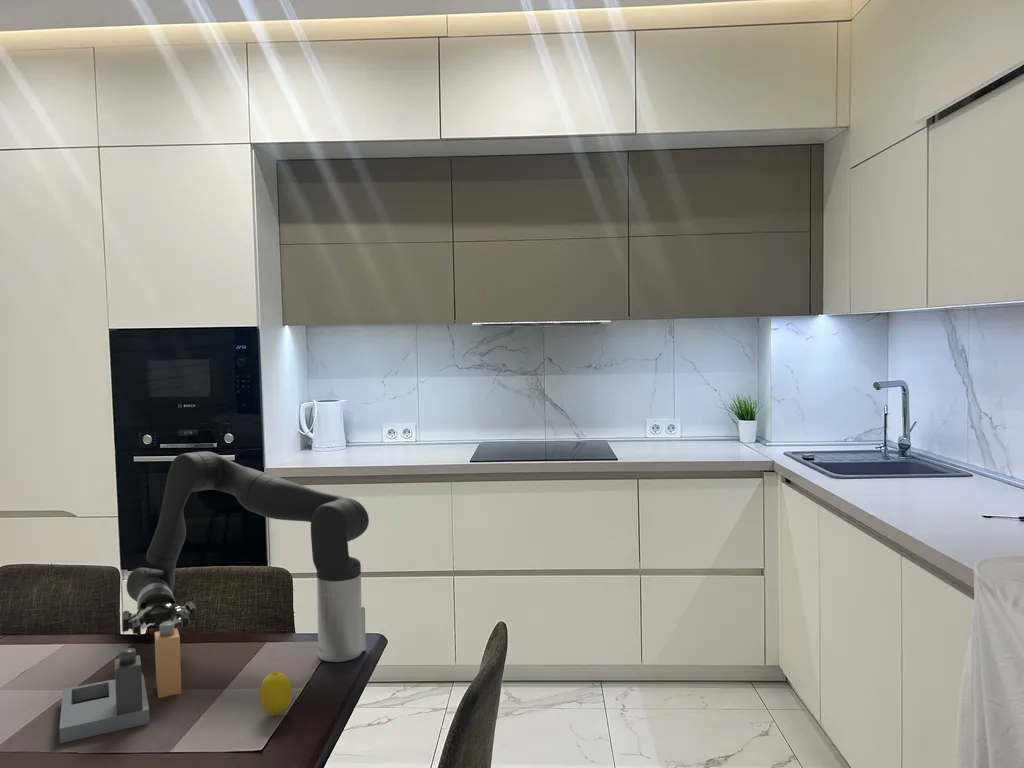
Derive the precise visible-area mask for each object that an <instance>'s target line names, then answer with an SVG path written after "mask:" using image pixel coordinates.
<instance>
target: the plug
mask: <svg viewBox="0 0 1024 768" xmlns="http://www.w3.org/2000/svg"><path fill="white" fill-rule="evenodd" d="M158 627H159V631H155V632H154V650H155V651H154V653H155V656H154V657H155V658H154V659H155V660H154V661H155V686H156V687H155V688H156V693H157V697H158V699H159V698H160V699H161V698H165V697H169V696H174V695H175V696H176V695H178V694H179V695H180V694H182V673H181V671H182V670H181V669H182V667H181V666H182V665H181V664H182V663H181V637H180V632H179V630H178V628H175V624H174V622H164V623H161V624H160V625H159V626H158Z"/></svg>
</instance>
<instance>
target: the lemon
mask: <svg viewBox="0 0 1024 768" xmlns="http://www.w3.org/2000/svg"><path fill="white" fill-rule="evenodd" d="M258 694H259V697H258V698H259V702H260V705H261V708H262V709H263V710H264V711H265V712H266V713H268V714H272V715H273V716H275V717H276V716H279V714H281V713H282V712H284V711H285V710H286V709H287V708H288V706H289V705H290V703H291V701H292V694H293V689H292V684H291V681H290V679H289V677H288V676H287V675H285V674H284V673H282V672H280V671H277V670H275V671H273V672H271V673H270V674H268V675H267V676H265V677H264V679H263V680H262V682H261V685H260V687H259V693H258Z"/></svg>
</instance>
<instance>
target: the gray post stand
mask: <svg viewBox="0 0 1024 768" xmlns="http://www.w3.org/2000/svg"><path fill="white" fill-rule="evenodd" d="M118 654H119V655H118V656H119V657H118V658H115V659H114V678H113V679H109V680H104V681H99V682H93V683H90V684H89V683H88V684H84V685H77V686H73V687H68V688H62V693H61V706H60V717H59V719H60V720H59V727H58V729H59V730H58V731H59V744H64V743H68V742H72V741H73V742H74V741H77V740H81V739H86V738H90V737H95V736H99V735H104V734H108V733H113V732H117V731H121V730H126V729H131V728H135V727H139V726H144V725H148V724H150V708H149V701H148V695H147V688H146V682H145V677H144V673H142V662H141V655H140V654H137V649H136V648H133V647H130V648H129V647H128V648H124V649H121V650H119V653H118ZM107 695H108V697H107ZM102 696H103V697H102ZM96 697H98V698H99V699H97V698H96ZM91 698H93V699H91ZM86 699H88V700H89V701H88V700H86ZM82 700H83V701H82ZM76 701H78V702H76ZM72 702H74V703H72ZM79 702H80V703H79Z"/></svg>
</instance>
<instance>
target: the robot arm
mask: <svg viewBox="0 0 1024 768" xmlns="http://www.w3.org/2000/svg"><path fill="white" fill-rule="evenodd" d="M208 490H210V491H211V490H212V491H214V490H215V491H221V492H223V493H227V494H230V495H232V496H234V497H235V498H236V500H237V501H238V503H239V504H240V505H241V506H242V507H243V508H244V509H245V510H247V511H250V512H252V513H253V514H257V515H260V516H263V517H265V518H268V519H274V520H278V521H279V520H280V521H291V522H292V521H294V522H295V521H296V522H308V523H310V540H311V554H312V561H313V565H314V568H315V570H316V590H317V593H316V596H317V598H316V599H317V602H316V603H317V604H316V605H317V645H318V646H317V649H318V650H317V651H318V654H317V655H318V658H319V659H320V660H321V661H325V662H329V663H341V662H347V661H351V660H354V659H356V658H359V657H360V656H361V655H362V653H363V652H364V651H366V650H367V646H366V645H367V643H366V642H367V641H366V640H367V638H366V608H365V606H362V566H361V565H362V564H361V562H360V560H359V559H358V558H356V557H353V556H350V555H349V542H351V541H354V540H355V539H357V538H359V537H361V535H363V534H364V533H365V532H366V531H367V529H368V526H369V524H370V523H369V522H370V519H369V513H368V511H367V510H366V509H365V507H364V505H362V504H361V503H360V502H359V501H358V500H355V499H353V498H350V497H345V496H341V495H336V494H330V493H326V492H321V491H318V490H315V489H313V488H310V487H307V486H305V485H302V484H299V483H297V482H293V481H292V480H291V481H290V480H288V479H286V478H282V477H280V476H277V475H274V474H272V473H268V472H265V471H264V472H263V471H260V470H258V469H254V468H251V467H247V466H244V465H240V464H239V463H236V462H234V461H232V460H230V459H228V458H226V457H225V456H222V455H220V454H217V453H215V452H212V451H207V450H206V451H204V450H203V451H193V452H186V453H181V454H179V455H177V456H176V457H175V458H174V459H173V461H172V463H171V464H170V466H169V470H168V473H167V479H166V484H165V489H164V493H163V498H162V502H161V508H160V509H161V510H160V514H159V519H158V523H157V525H156V528H155V532H154V534H153V536H152V540H151V541H150V544H149V546H148V549H147V551H146V555H145V559H146V562H147V563H148V564H149V565H150V566H153V567H155V568H150V567H149V568H148V567H137V568H135V569H134V570H132V571H131V572H130V573H129V575H128V578H127V580H126V591H127V594H128V596H129V597H130V598H131V599H132V600H133V601H136V606H137V607H136V610H137V612H136V613H132V612H130V611H129V610H125V611H122V616H121V627H122V629H121V631H122V632H123V633H124V632H128V631H130V630H131V631H132V634H134V635H136V636H137V637H138V636H141V635H142V634H141V633H142V632H141V630H142V629H146V628H149V627H159V625H160V624H161V623H164V622H174V625H176V624H178V623H180V625H181V627H182V629H186V628H187V626H190V621H193V622H194V621H196V620H197V607H196V605H195V604H194V602H193V601H190V600H189V601H186V602H185V604H184V605H181V606H180V605H179V604H177V602H176V600H175V597H174V594H173V592H174V589H175V581H176V580H175V577H176V576H175V575H176V573H175V572H176V566H177V563H178V559H179V556H180V554H181V551H182V549H183V546H184V544H185V540H186V537H187V535H186V534H187V526H186V519H185V516H184V515H185V514H184V508H185V505H186V503H187V501H188V498H189V497H190V495H191V493H195V492H202V491H208Z"/></svg>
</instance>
